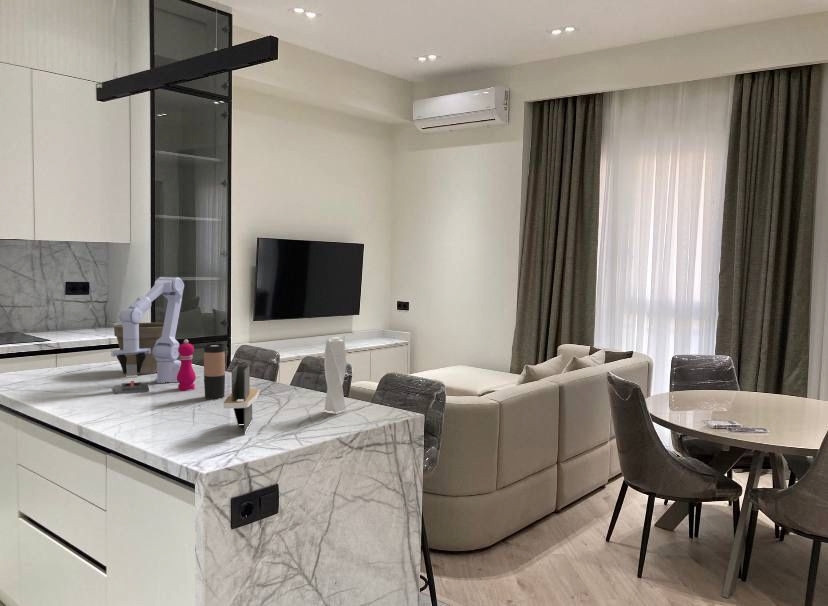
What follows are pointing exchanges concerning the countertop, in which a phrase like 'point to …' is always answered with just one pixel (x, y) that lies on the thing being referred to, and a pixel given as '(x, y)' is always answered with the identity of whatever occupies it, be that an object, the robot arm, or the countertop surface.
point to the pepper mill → (186, 367)
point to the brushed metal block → (131, 370)
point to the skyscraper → (335, 373)
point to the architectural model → (241, 395)
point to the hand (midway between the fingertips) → (131, 373)
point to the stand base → (131, 387)
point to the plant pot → (143, 344)
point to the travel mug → (214, 371)
